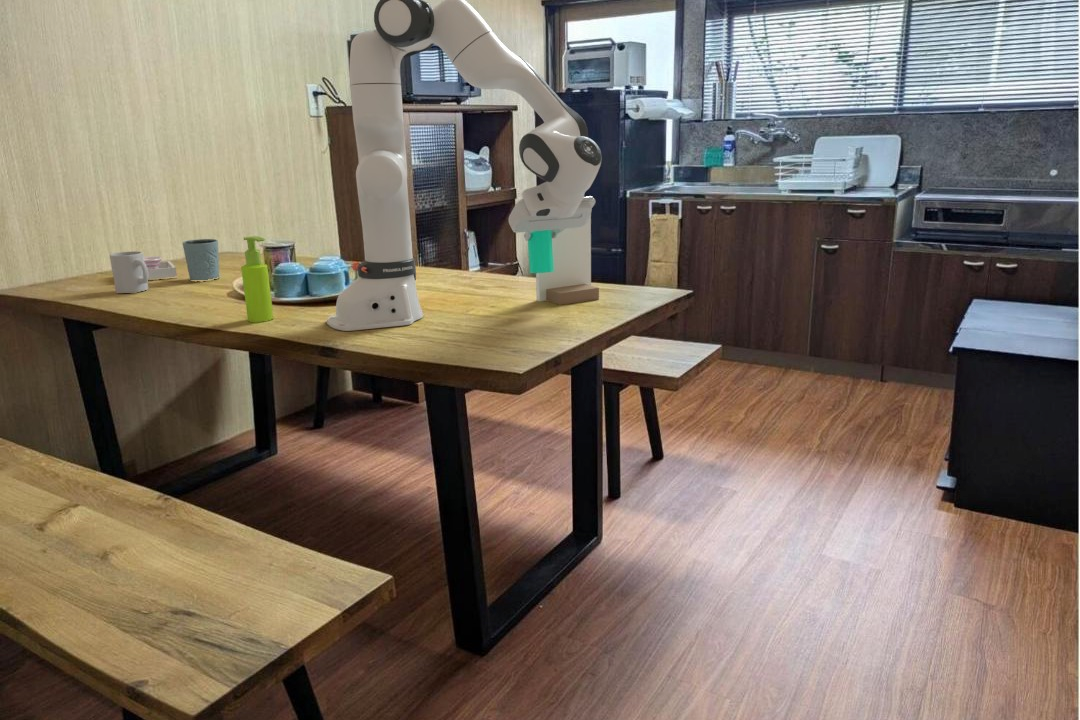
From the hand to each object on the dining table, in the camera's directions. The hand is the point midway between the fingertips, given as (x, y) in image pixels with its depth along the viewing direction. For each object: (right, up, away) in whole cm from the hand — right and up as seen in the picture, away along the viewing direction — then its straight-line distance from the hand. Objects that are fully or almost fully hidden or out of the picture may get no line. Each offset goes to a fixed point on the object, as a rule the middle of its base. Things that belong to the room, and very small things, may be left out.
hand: (539, 237), depth 189 cm
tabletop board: (+8, -14, +15) cm, 22 cm away
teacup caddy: (-125, -3, +60) cm, 138 cm away
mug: (-117, -10, +38) cm, 123 cm away
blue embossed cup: (-104, -5, +54) cm, 117 cm away
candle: (+1, -8, +1) cm, 9 cm away
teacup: (-124, -4, +60) cm, 138 cm away
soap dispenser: (-67, -20, 0) cm, 70 cm away
